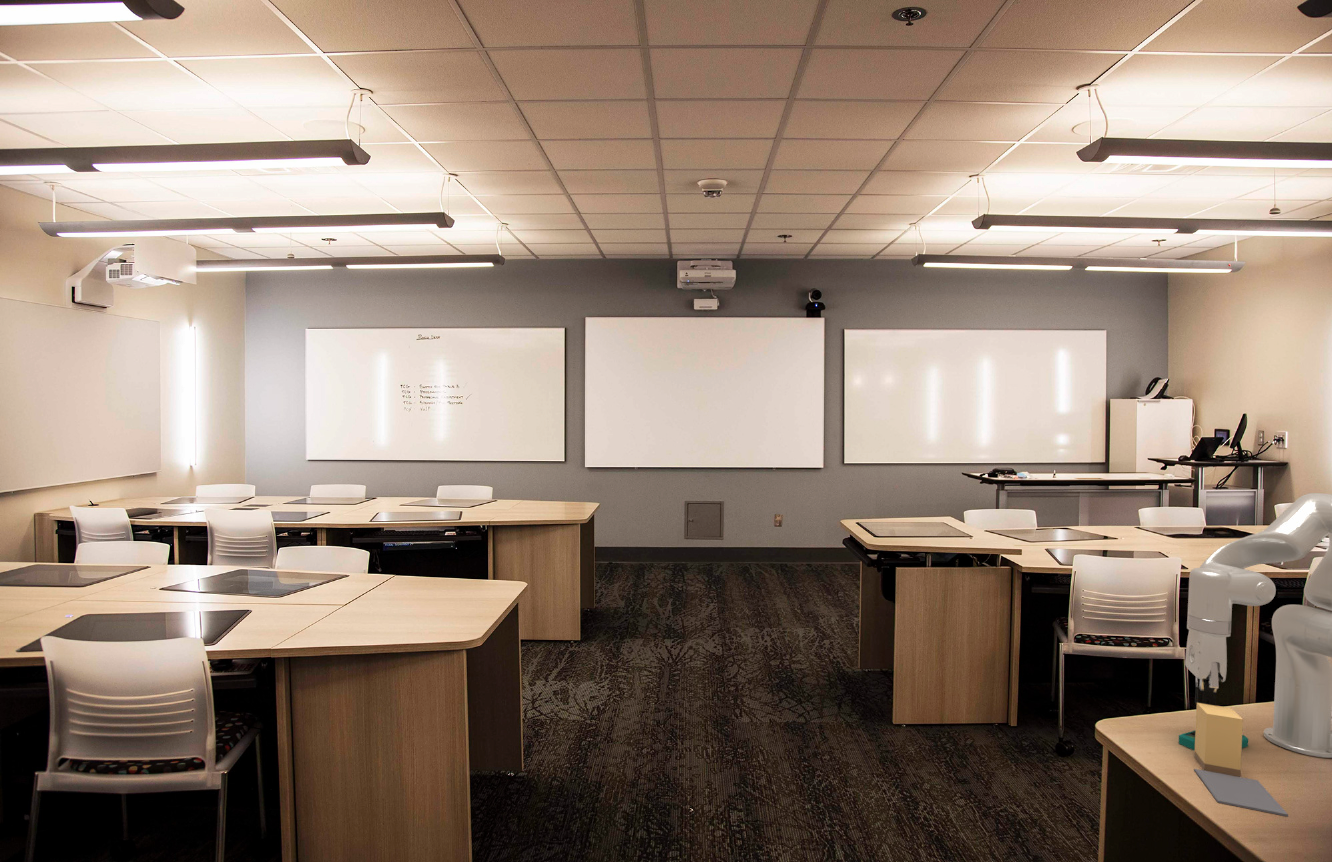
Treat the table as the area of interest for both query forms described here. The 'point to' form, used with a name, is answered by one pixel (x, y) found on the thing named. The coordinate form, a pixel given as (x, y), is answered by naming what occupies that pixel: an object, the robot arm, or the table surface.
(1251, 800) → the mat
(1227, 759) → the ochre block
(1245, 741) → the digital multimeter
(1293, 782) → the table surface
